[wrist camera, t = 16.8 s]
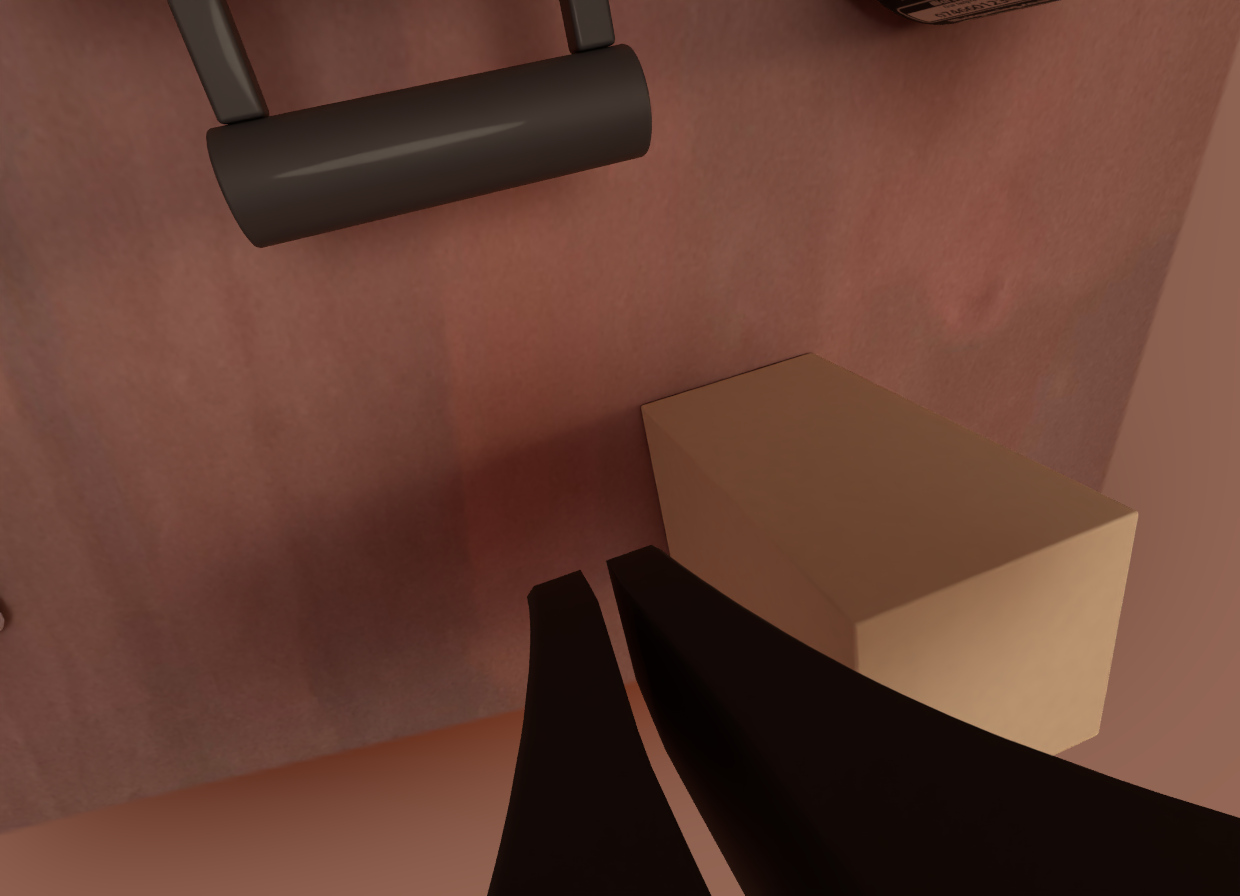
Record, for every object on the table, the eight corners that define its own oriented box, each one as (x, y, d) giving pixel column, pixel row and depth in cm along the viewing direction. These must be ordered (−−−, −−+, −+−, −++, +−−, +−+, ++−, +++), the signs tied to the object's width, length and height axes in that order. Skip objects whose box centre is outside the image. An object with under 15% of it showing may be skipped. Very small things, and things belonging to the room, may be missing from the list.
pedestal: (822, 505, 22) (1100, 735, 13) (670, 560, 21) (864, 845, 12) (811, 351, 19) (1141, 511, 11) (639, 405, 18) (854, 626, 10)
